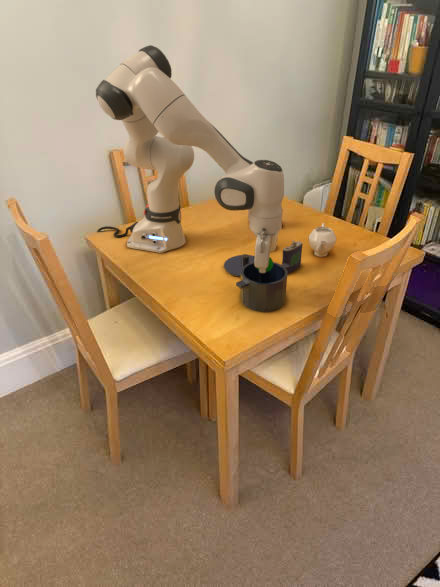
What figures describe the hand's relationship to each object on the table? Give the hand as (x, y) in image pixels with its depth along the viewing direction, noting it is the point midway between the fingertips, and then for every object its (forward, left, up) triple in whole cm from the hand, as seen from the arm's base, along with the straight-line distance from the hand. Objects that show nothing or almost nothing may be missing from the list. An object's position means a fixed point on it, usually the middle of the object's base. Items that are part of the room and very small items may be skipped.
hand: (263, 266), depth 122 cm
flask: (+8, +19, -12) cm, 24 cm away
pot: (0, 0, -12) cm, 12 cm away
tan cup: (-1, +34, -12) cm, 36 cm away
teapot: (+18, +32, -12) cm, 39 cm away
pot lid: (-8, +18, -11) cm, 23 cm away
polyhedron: (0, 0, -2) cm, 2 cm away
